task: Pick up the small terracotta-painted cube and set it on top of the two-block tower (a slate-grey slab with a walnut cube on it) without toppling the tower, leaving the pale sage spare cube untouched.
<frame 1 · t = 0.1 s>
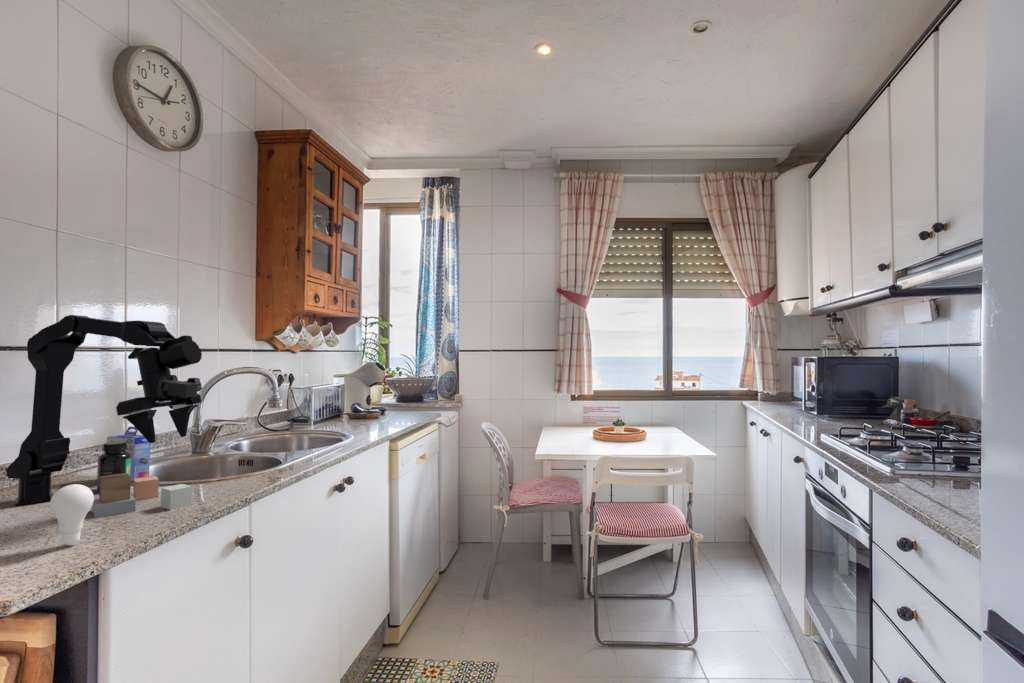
hand: (168, 439, 118), 15 cm above the worktop, tool pointing down, fingers open, 9 cm apart
walnut cube: (114, 499, 114), point 3 cm above the worktop
slate base block: (113, 512, 114), on the worktop
supplement bottle: (113, 490, 132), on the worktop
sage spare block: (176, 506, 118), on the worktop
ink cartridge box: (127, 480, 143), on the worktop
lightbulb: (70, 546, 93), on the worktop
terracotta block: (145, 497, 125), on the worktop
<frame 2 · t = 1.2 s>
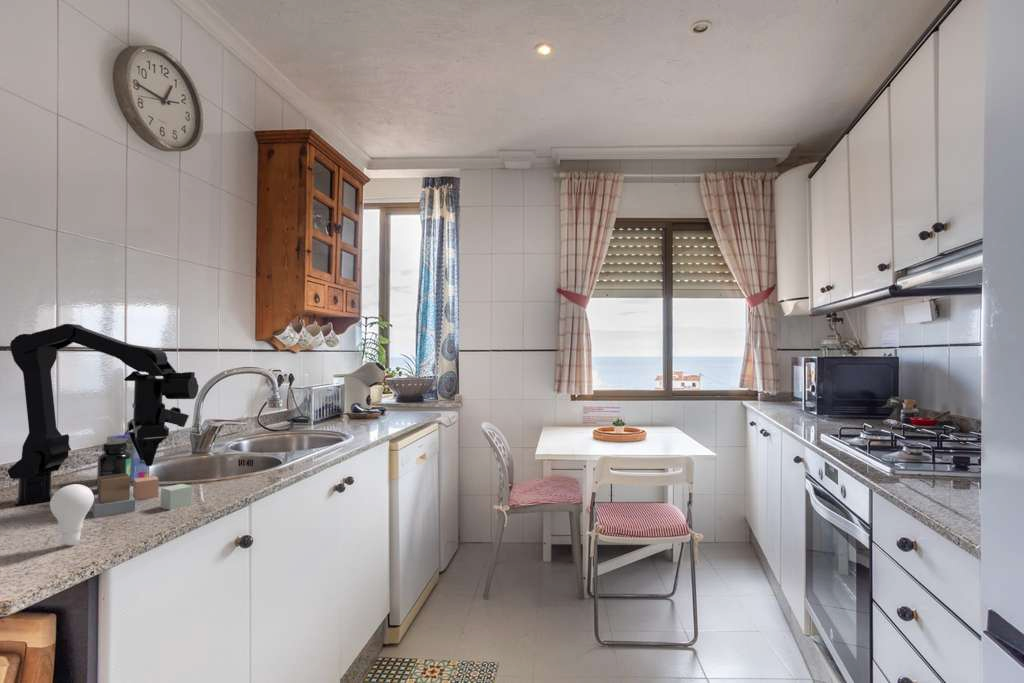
hand: (146, 462, 125), 8 cm above the worktop, tool pointing down, fingers open, 9 cm apart
walnut cube: (113, 499, 114), point 3 cm above the worktop, touching slate base block
slate base block: (113, 512, 114), on the worktop, touching walnut cube
everything else where it was.
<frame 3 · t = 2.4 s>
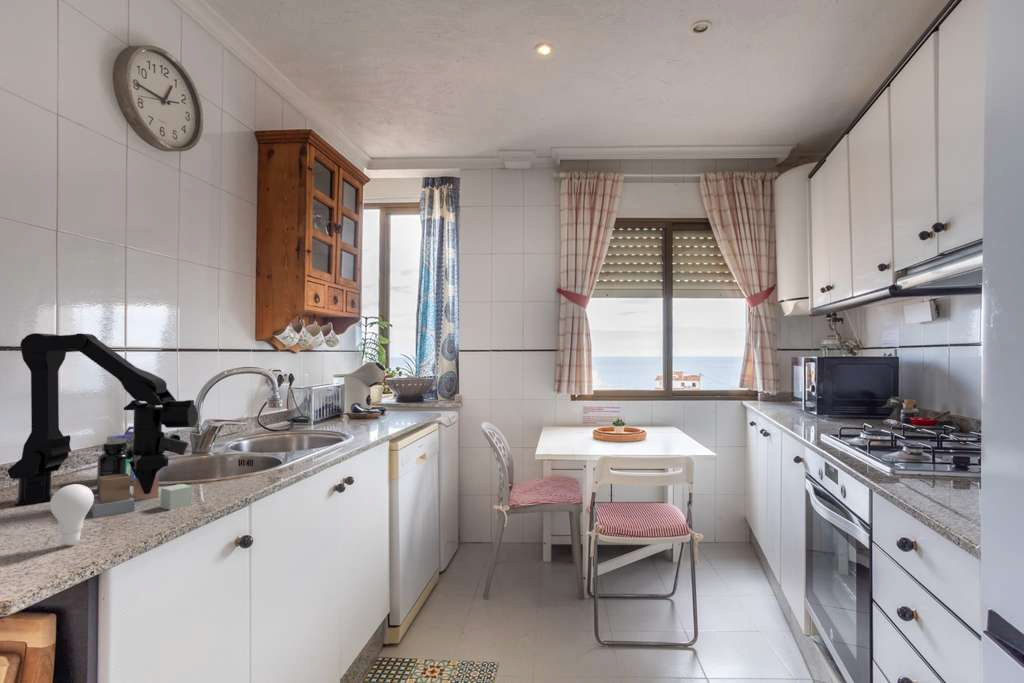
hand: (145, 491, 125), 1 cm above the worktop, tool pointing down, fingers closed on terracotta block, 4 cm apart
terracotta block: (145, 496, 125), on the worktop, touching gripper
everything else where it was.
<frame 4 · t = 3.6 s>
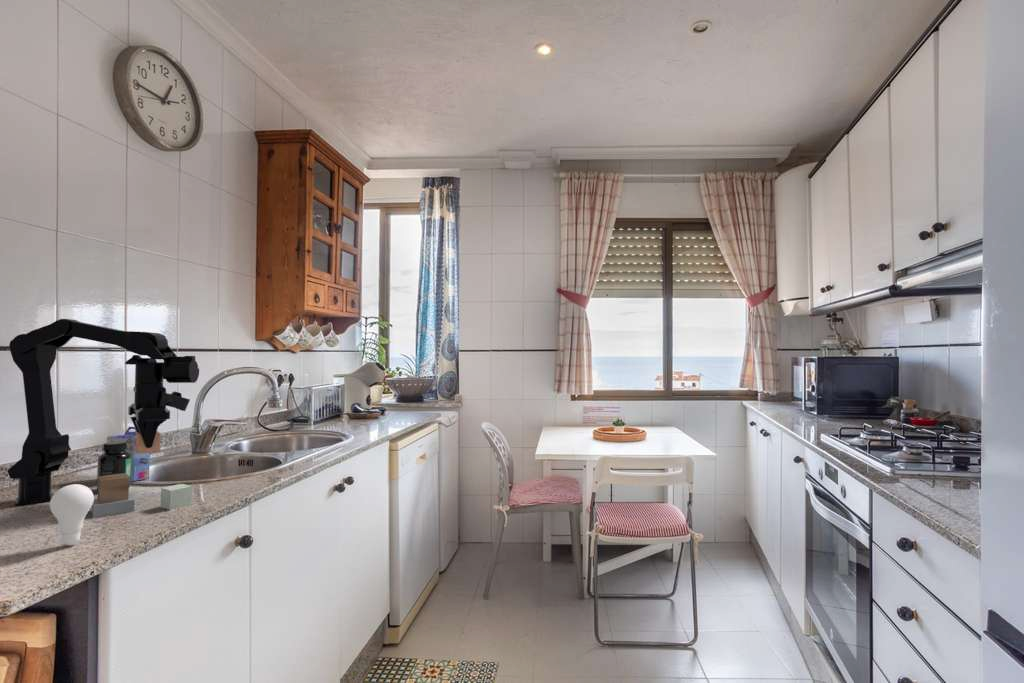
hand: (147, 446, 125), 12 cm above the worktop, tool pointing down, fingers closed on terracotta block, 4 cm apart
terracotta block: (147, 451, 125), point 11 cm above the worktop, touching gripper
everything else where it was.
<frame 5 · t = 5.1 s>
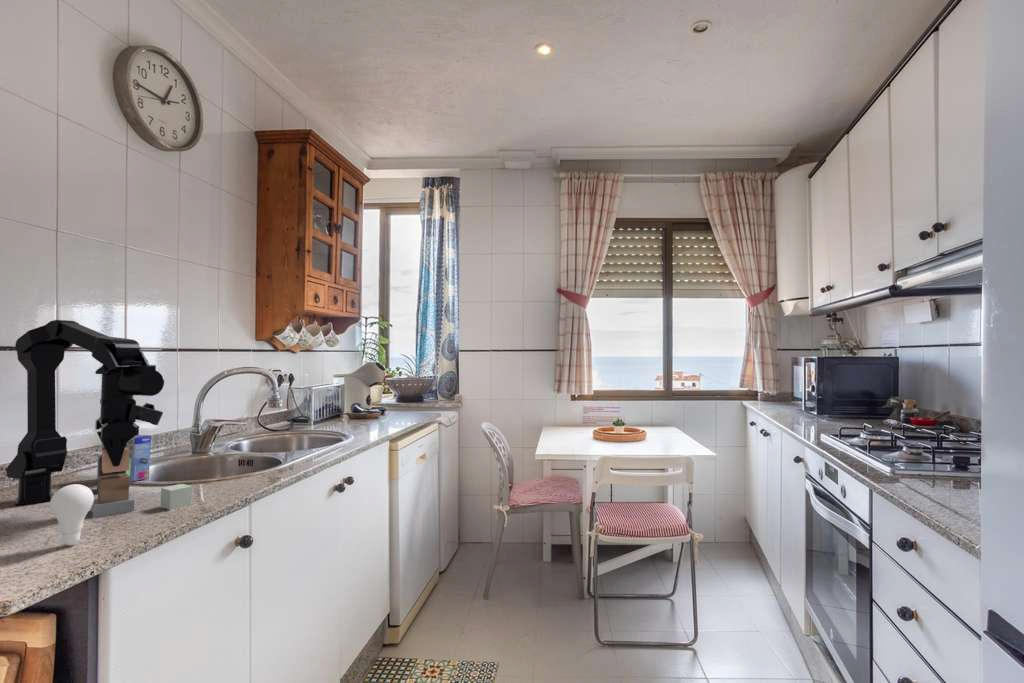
hand: (115, 464, 114), 10 cm above the worktop, tool pointing down, fingers closed on terracotta block, 4 cm apart
terracotta block: (115, 470, 114), point 9 cm above the worktop, touching gripper
everything else where it was.
when the fingers open (10 cm above the worktop, at t = 5.2 s): terracotta block drops 2 cm, point 8 cm above the worktop.
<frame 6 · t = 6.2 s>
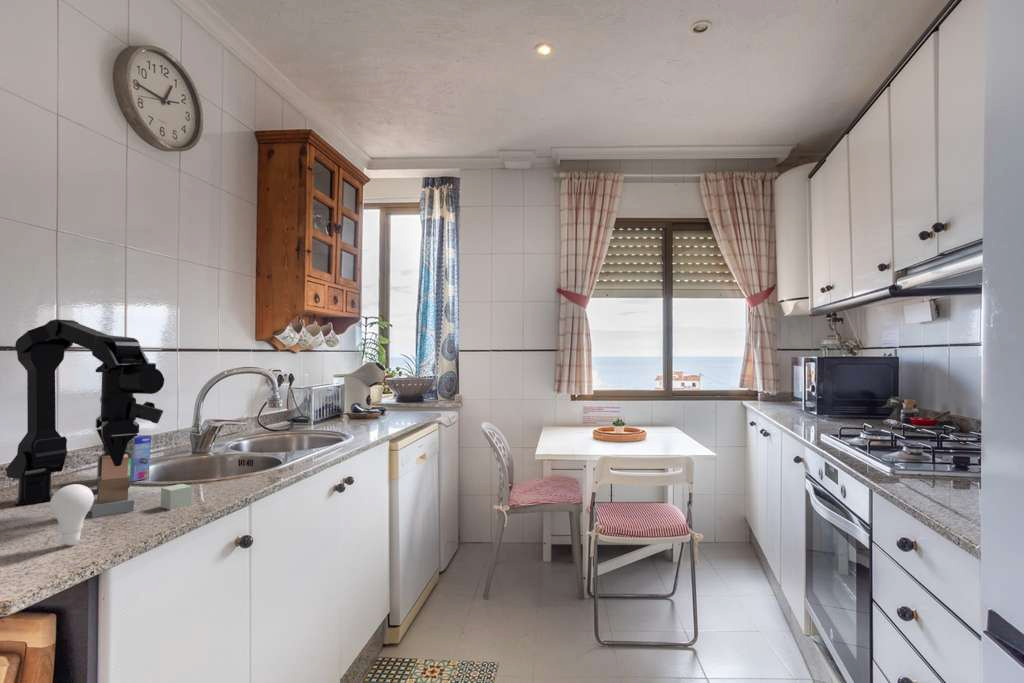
hand: (115, 462, 114), 11 cm above the worktop, tool pointing down, fingers open, 9 cm apart
terracotta block: (114, 476, 114), point 8 cm above the worktop
everything else where it was.
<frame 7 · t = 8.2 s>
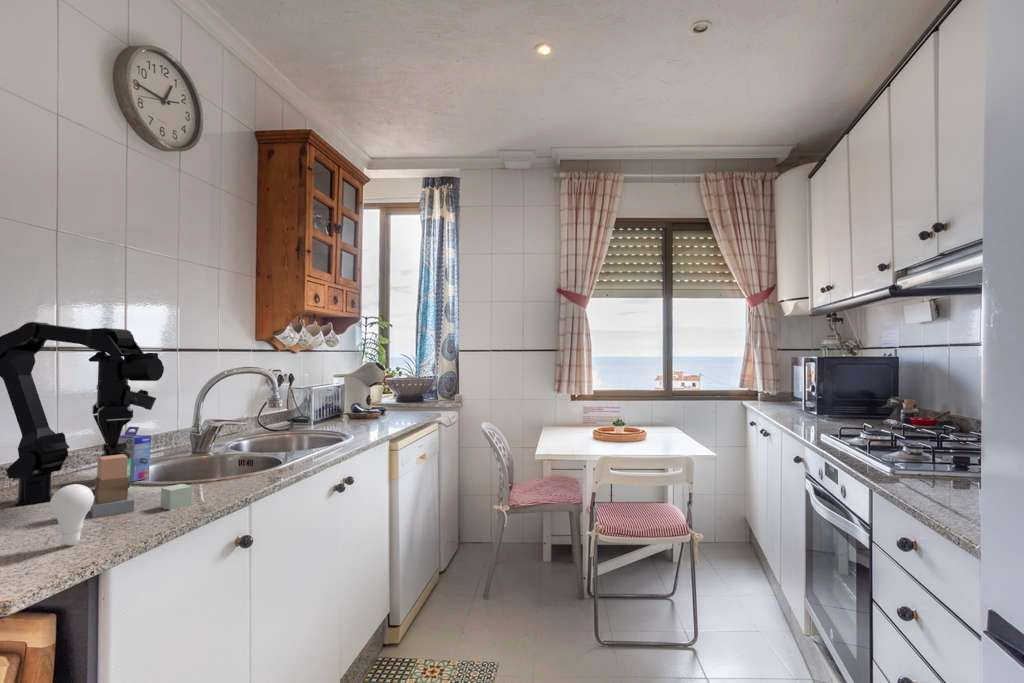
hand: (110, 446, 121), 13 cm above the worktop, tool pointing down, fingers open, 9 cm apart
walnut cube: (111, 499, 113), point 3 cm above the worktop, touching slate base block, terracotta block
terracotta block: (112, 477, 114), point 8 cm above the worktop, touching walnut cube
everything else where it was.
at the end: terracotta block 0.1 cm off-centre on the walnut cube, point 5.0 cm above the walnut cube's base; walnut cube tilted 0°; slate base block moved 0.5 cm from its start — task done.
